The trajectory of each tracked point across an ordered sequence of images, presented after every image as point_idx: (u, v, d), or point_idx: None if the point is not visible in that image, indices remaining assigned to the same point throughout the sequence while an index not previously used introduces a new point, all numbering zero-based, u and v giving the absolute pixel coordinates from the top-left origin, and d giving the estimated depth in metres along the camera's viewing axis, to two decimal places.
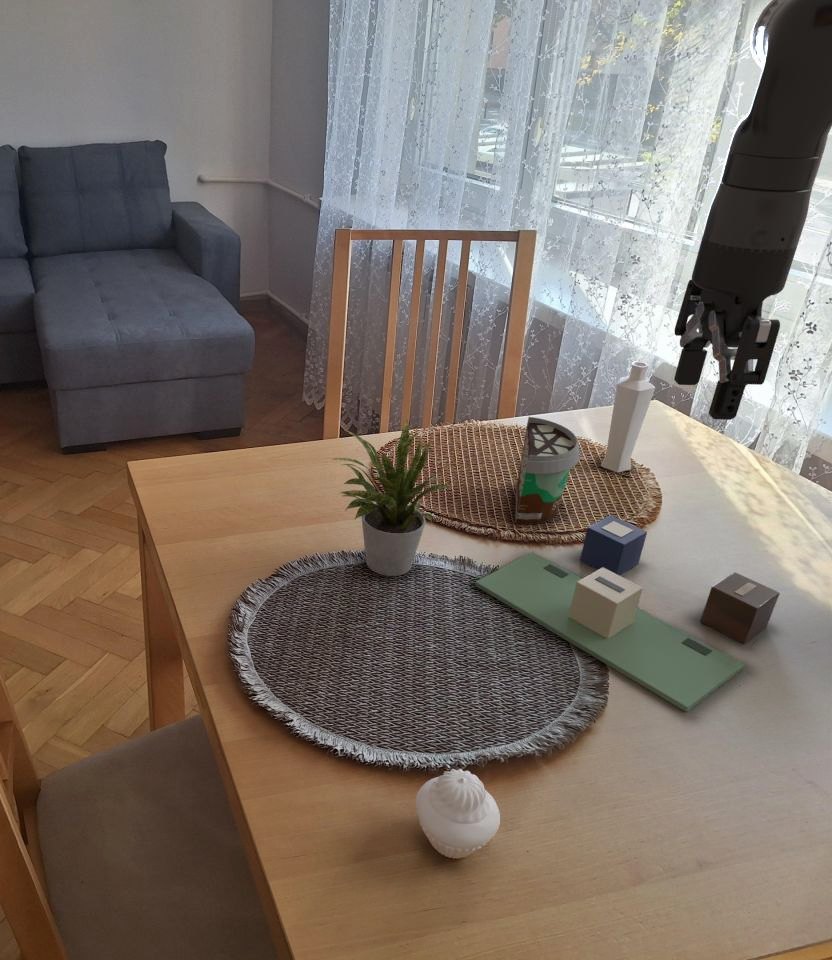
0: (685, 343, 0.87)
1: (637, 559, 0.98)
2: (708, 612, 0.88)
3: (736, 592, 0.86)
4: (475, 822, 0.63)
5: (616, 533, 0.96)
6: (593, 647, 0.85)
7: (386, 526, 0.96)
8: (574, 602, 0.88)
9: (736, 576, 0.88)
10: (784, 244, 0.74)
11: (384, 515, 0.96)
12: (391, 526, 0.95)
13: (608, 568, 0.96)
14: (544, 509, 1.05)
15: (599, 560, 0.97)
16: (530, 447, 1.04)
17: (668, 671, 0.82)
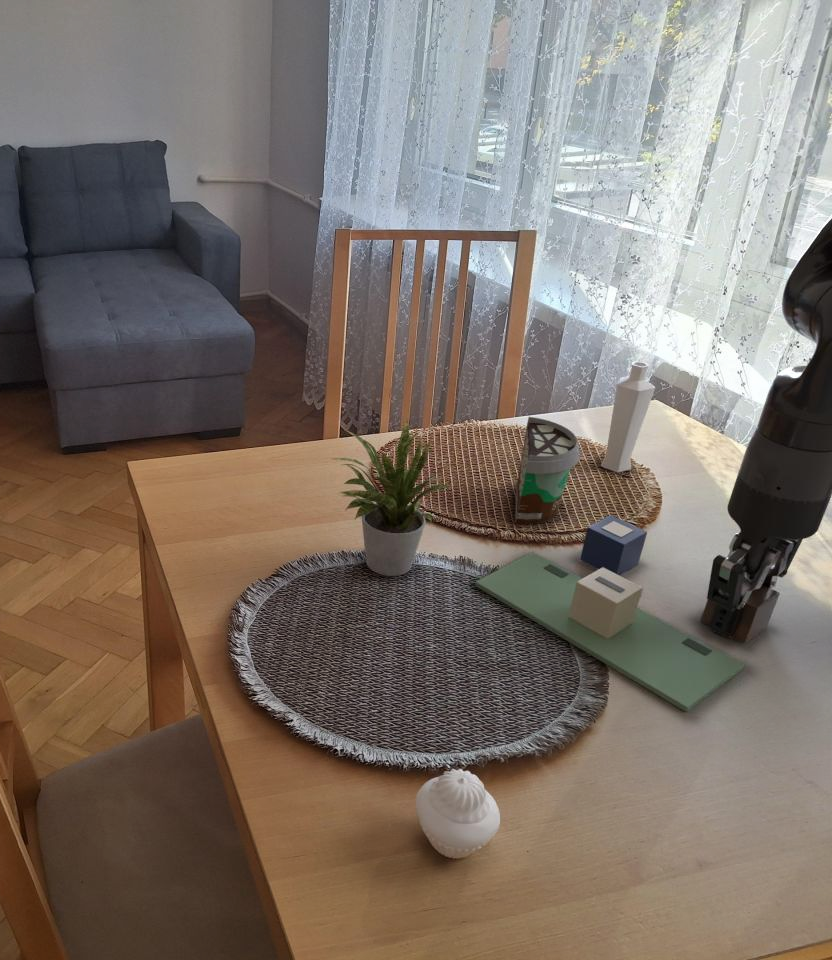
0: (746, 574, 0.88)
1: (637, 559, 0.98)
2: (708, 612, 0.88)
3: None
4: (475, 822, 0.63)
5: (616, 533, 0.96)
6: (593, 647, 0.85)
7: (386, 526, 0.96)
8: (574, 602, 0.88)
9: None
10: (781, 494, 0.78)
11: (384, 515, 0.96)
12: (391, 526, 0.95)
13: (608, 568, 0.96)
14: (544, 509, 1.05)
15: (599, 560, 0.97)
16: (530, 447, 1.04)
17: (668, 671, 0.82)
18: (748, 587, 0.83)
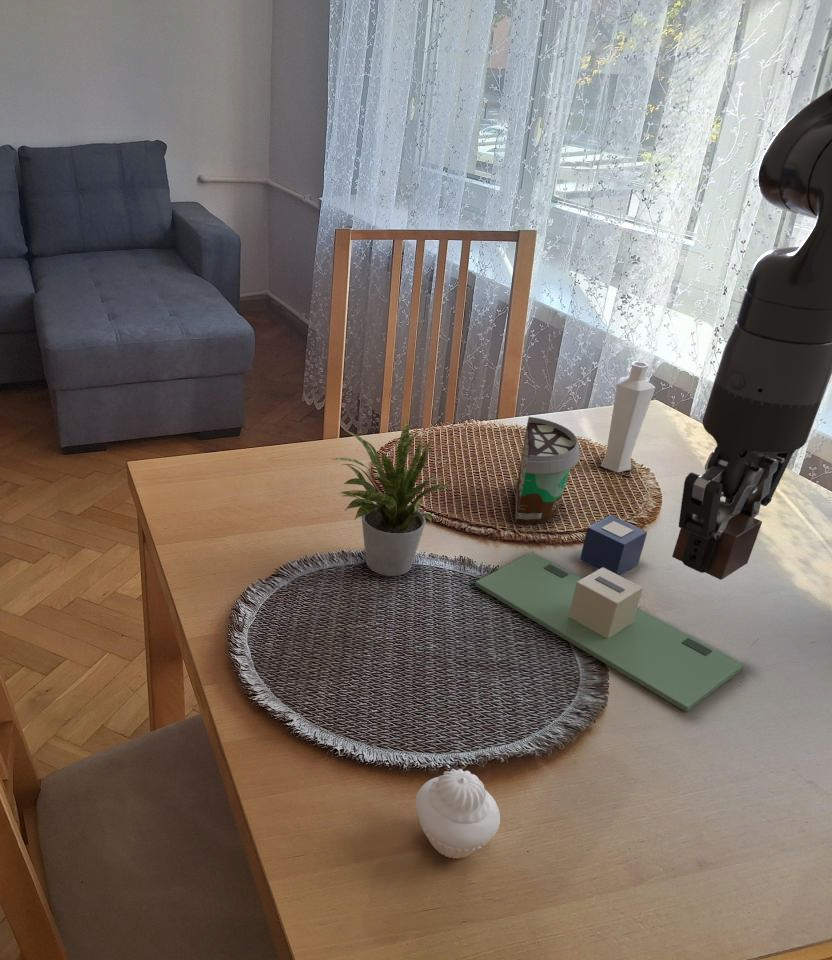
0: (724, 502, 0.77)
1: (637, 559, 0.98)
2: (681, 545, 0.77)
3: None
4: (475, 822, 0.63)
5: (616, 533, 0.96)
6: (593, 647, 0.85)
7: (386, 526, 0.96)
8: (574, 602, 0.88)
9: None
10: (763, 396, 0.67)
11: (384, 515, 0.96)
12: (391, 526, 0.95)
13: (608, 568, 0.96)
14: (544, 509, 1.05)
15: (599, 560, 0.97)
16: (530, 447, 1.04)
17: (668, 671, 0.82)
18: (726, 512, 0.72)
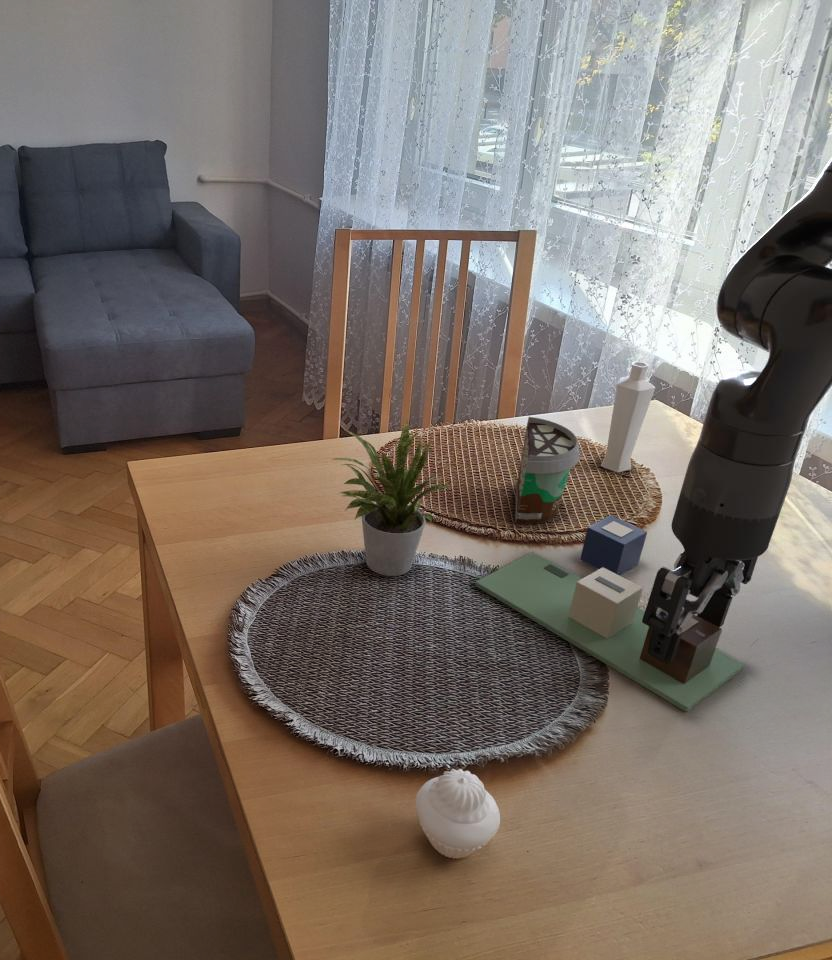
0: None
1: (637, 559, 0.98)
2: (647, 649, 0.82)
3: None
4: (475, 822, 0.63)
5: (616, 533, 0.96)
6: (593, 647, 0.85)
7: (386, 526, 0.96)
8: (574, 602, 0.88)
9: None
10: (724, 511, 0.71)
11: (384, 515, 0.96)
12: (391, 526, 0.95)
13: (608, 568, 0.96)
14: (544, 509, 1.05)
15: (599, 560, 0.97)
16: (530, 447, 1.04)
17: None
18: (690, 608, 0.76)
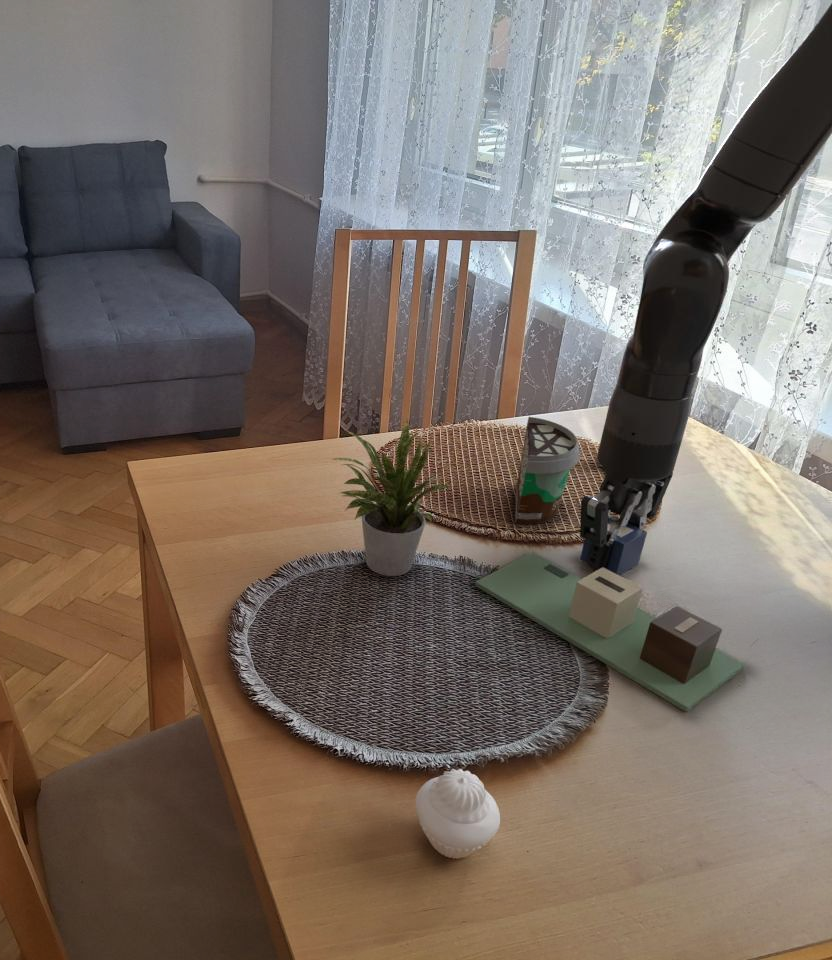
0: None
1: (637, 559, 0.98)
2: (647, 649, 0.82)
3: (675, 628, 0.81)
4: (475, 822, 0.63)
5: None
6: (593, 647, 0.85)
7: (386, 526, 0.96)
8: (574, 602, 0.88)
9: (677, 610, 0.83)
10: (635, 438, 0.88)
11: (384, 515, 0.96)
12: (391, 526, 0.95)
13: (608, 568, 0.96)
14: (544, 509, 1.05)
15: None
16: (530, 447, 1.04)
17: None
18: (615, 525, 0.93)
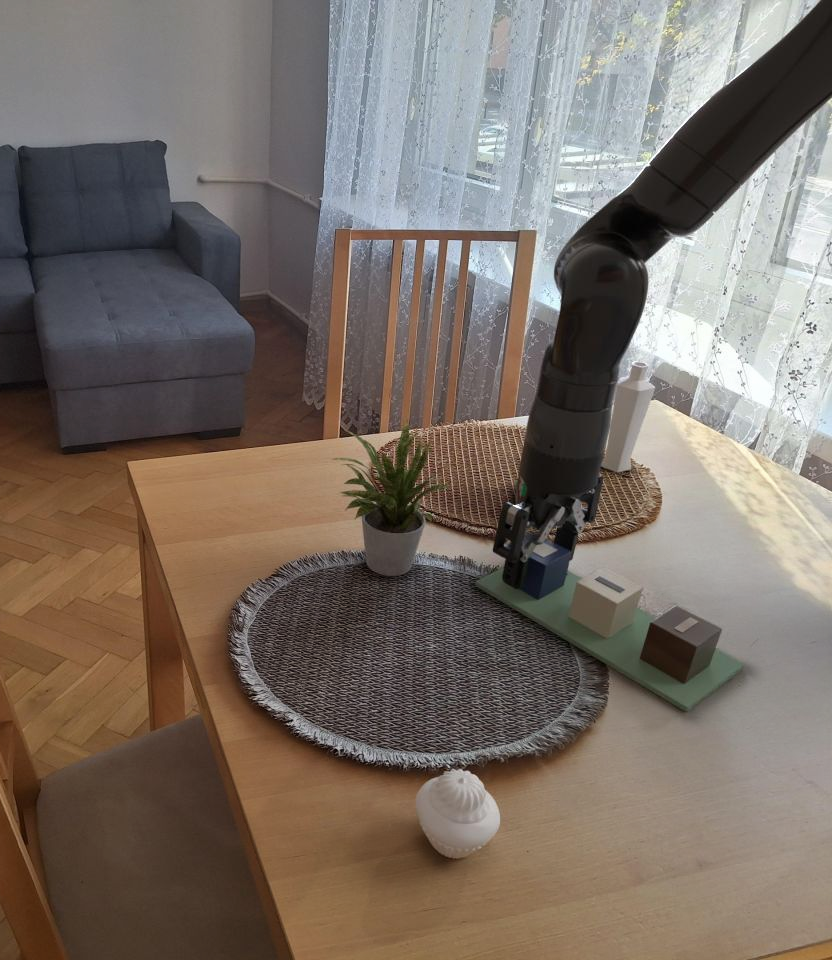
0: None
1: (562, 580, 0.93)
2: (647, 649, 0.82)
3: (675, 628, 0.81)
4: (475, 822, 0.63)
5: (539, 553, 0.92)
6: (593, 647, 0.85)
7: (386, 526, 0.96)
8: (574, 602, 0.88)
9: (677, 610, 0.83)
10: (554, 452, 0.83)
11: (384, 515, 0.96)
12: (391, 526, 0.95)
13: (531, 589, 0.92)
14: None
15: None
16: None
17: None
18: (533, 539, 0.88)
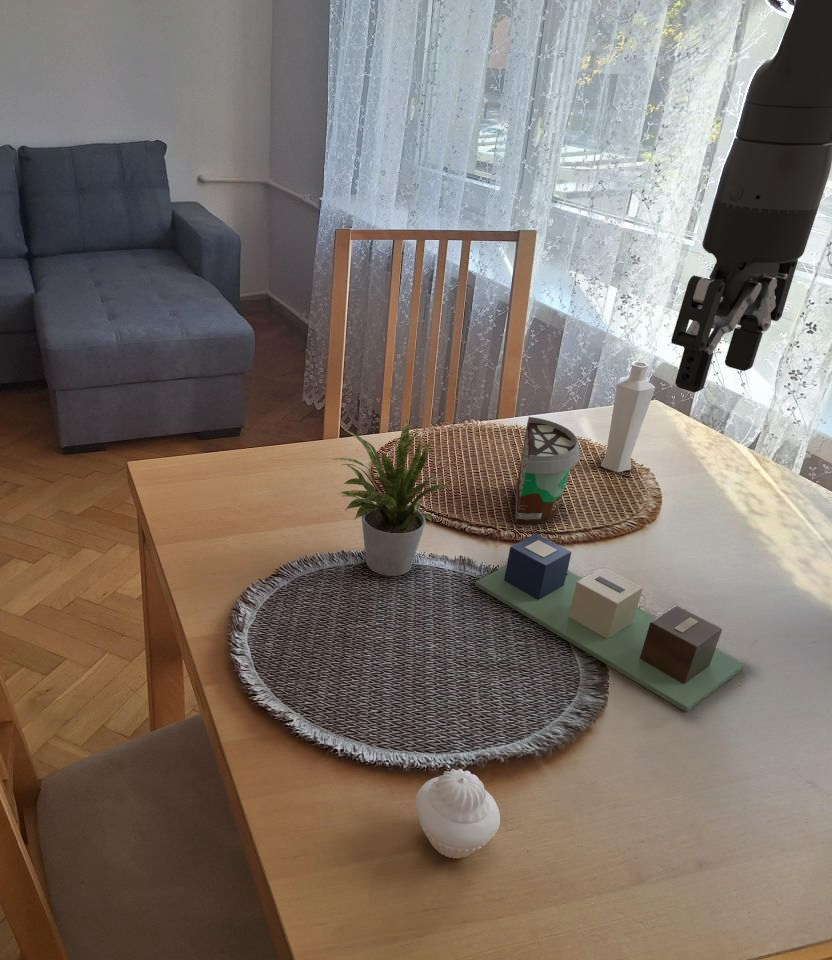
0: None
1: (562, 580, 0.93)
2: (647, 649, 0.82)
3: (675, 628, 0.81)
4: (475, 822, 0.63)
5: (539, 553, 0.92)
6: (593, 647, 0.85)
7: (386, 526, 0.96)
8: (574, 602, 0.88)
9: (677, 610, 0.83)
10: (761, 203, 0.69)
11: (384, 515, 0.96)
12: (391, 526, 0.95)
13: (531, 589, 0.92)
14: (544, 509, 1.05)
15: (522, 581, 0.93)
16: (530, 447, 1.04)
17: None
18: (722, 324, 0.73)
